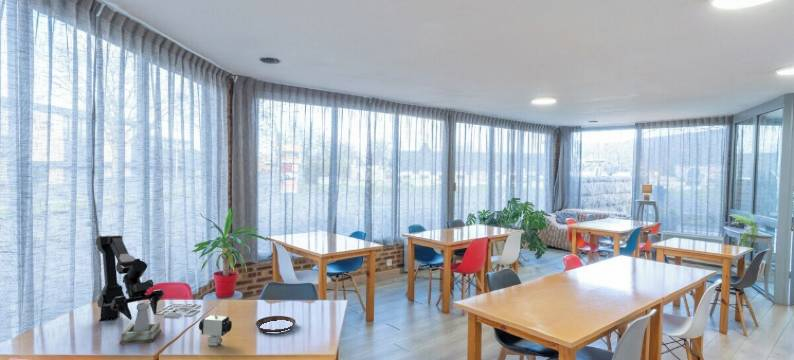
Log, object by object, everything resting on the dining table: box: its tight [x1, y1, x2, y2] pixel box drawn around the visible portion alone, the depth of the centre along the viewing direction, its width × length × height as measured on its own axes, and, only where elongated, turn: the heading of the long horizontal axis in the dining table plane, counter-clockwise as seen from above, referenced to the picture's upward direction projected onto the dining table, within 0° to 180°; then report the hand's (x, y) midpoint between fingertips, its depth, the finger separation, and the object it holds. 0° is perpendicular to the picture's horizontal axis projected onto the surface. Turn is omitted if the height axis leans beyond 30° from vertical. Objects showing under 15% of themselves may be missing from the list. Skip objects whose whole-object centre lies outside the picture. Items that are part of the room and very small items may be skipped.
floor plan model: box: [155, 302, 202, 319], centre depth 203 cm, size 19×25×2 cm
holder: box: [118, 322, 162, 345], centre depth 169 cm, size 12×12×4 cm
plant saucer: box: [255, 315, 297, 333], centre depth 186 cm, size 18×18×3 cm
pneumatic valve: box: [198, 314, 233, 347], centre depth 166 cm, size 6×12×12 cm, turn 86°
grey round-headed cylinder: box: [133, 302, 150, 332], centre depth 169 cm, size 6×6×13 cm
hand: (143, 316), depth 168 cm, fingers open, 9 cm apart
